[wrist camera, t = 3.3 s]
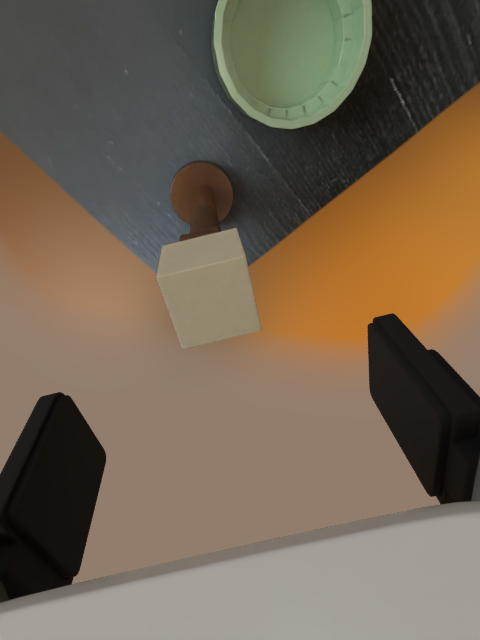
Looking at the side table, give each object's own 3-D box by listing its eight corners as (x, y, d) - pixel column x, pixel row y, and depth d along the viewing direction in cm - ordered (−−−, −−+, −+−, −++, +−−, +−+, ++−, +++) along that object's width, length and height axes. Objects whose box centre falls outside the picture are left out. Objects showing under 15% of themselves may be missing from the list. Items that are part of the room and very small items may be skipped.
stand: (181, 229, 38) (172, 327, 22) (162, 168, 35) (137, 231, 19) (237, 215, 38) (270, 304, 22) (224, 153, 35) (251, 203, 19)
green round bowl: (228, 137, 34) (233, 144, 30) (194, -28, 28) (194, -49, 24) (351, 107, 34) (373, 109, 30) (343, -66, 28) (370, -95, 24)
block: (184, 309, 22) (182, 349, 18) (162, 245, 19) (155, 277, 16) (251, 293, 21) (261, 330, 18) (236, 227, 19) (245, 255, 16)
